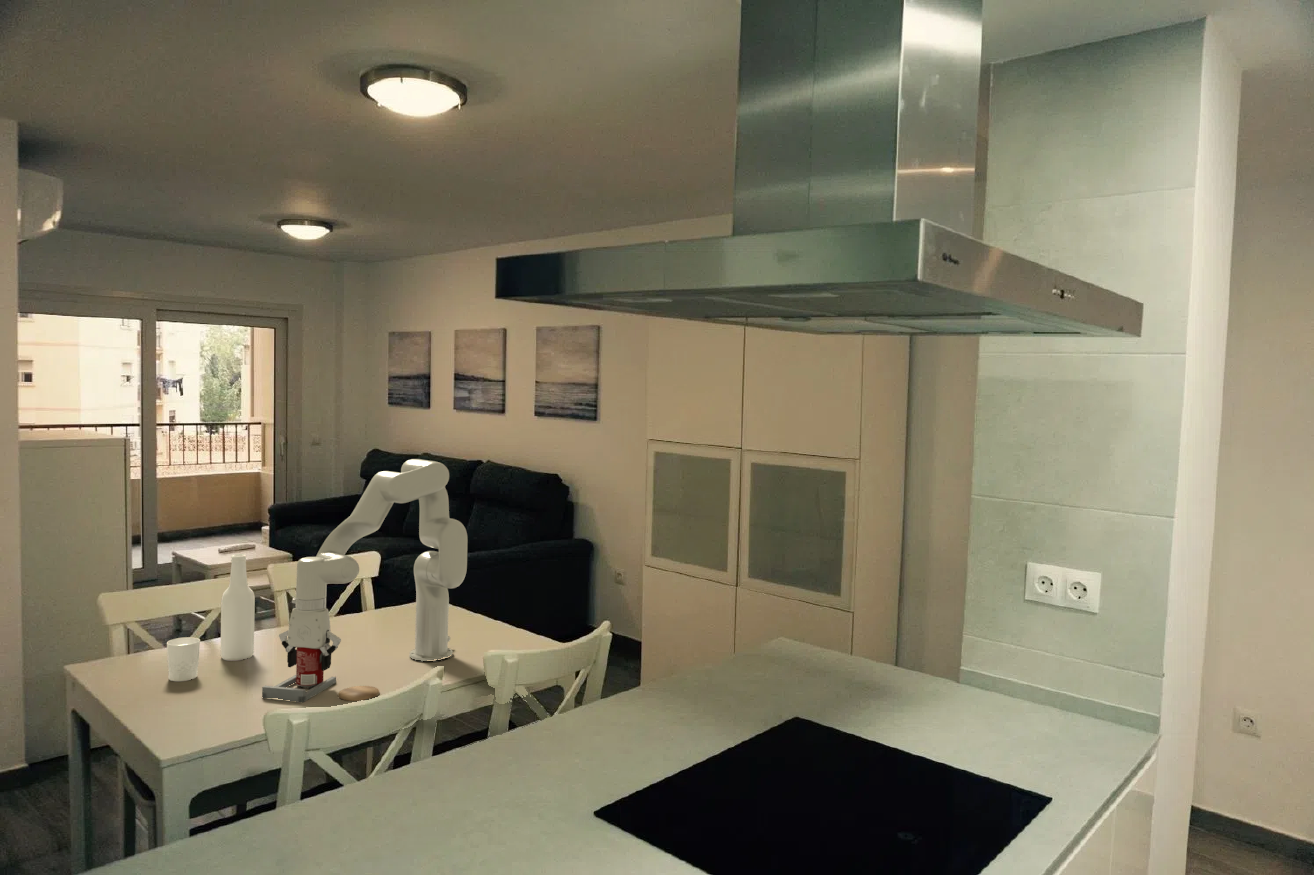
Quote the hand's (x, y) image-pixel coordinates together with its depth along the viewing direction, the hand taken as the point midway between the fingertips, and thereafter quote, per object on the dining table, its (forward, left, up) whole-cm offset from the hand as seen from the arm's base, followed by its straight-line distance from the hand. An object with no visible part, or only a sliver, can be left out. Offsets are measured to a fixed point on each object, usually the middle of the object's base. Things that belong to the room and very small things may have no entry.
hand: (308, 667), depth 230 cm
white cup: (+3, -35, -5) cm, 35 cm away
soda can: (0, 0, -5) cm, 5 cm away
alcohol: (-17, -33, -5) cm, 37 cm away
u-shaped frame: (+4, 0, -5) cm, 6 cm away
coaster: (+3, +16, -5) cm, 17 cm away
